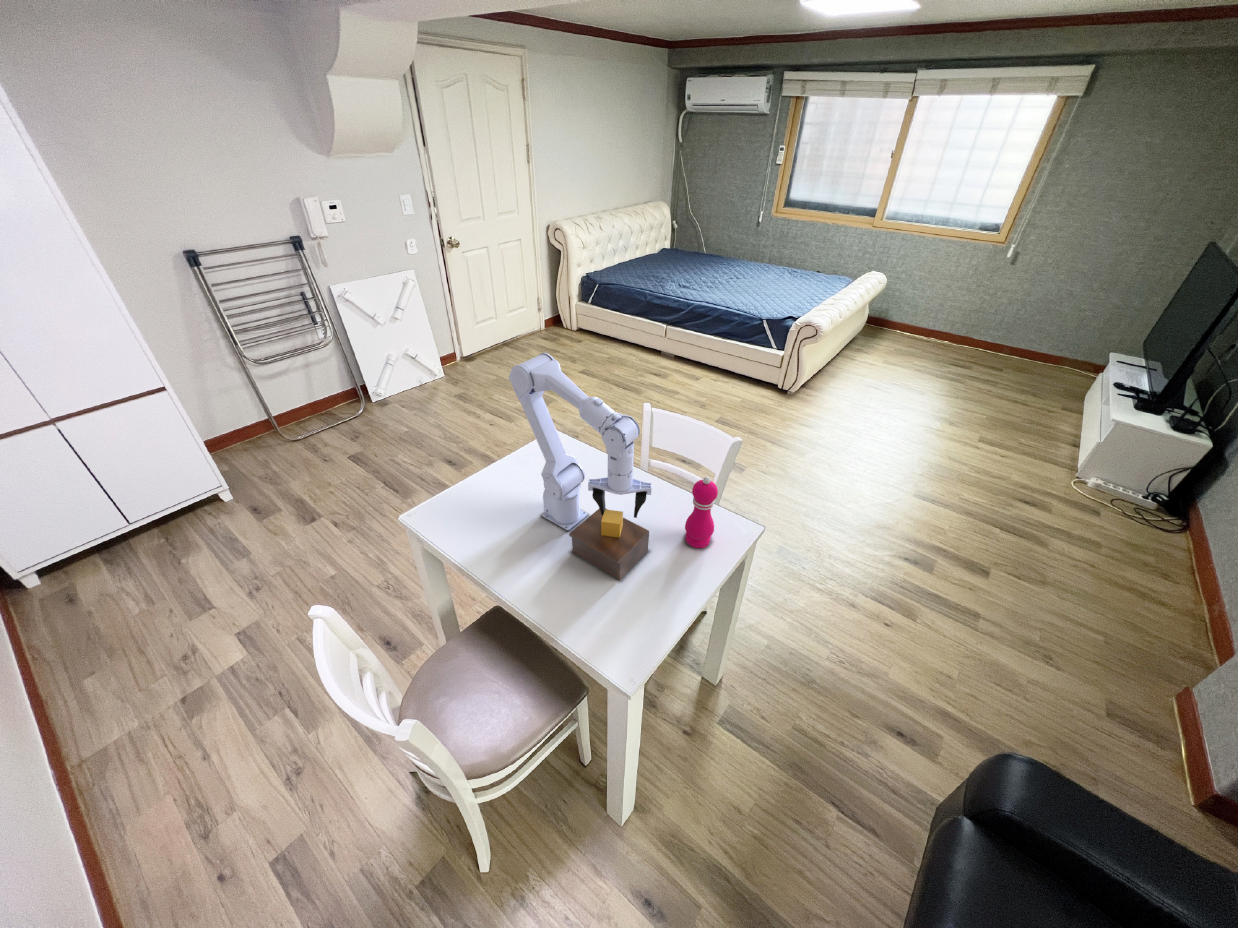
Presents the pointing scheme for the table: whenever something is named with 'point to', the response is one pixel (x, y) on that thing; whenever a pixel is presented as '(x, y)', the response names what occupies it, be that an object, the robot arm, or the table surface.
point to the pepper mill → (701, 514)
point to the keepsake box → (608, 564)
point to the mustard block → (612, 523)
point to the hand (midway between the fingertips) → (619, 513)
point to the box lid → (609, 537)
